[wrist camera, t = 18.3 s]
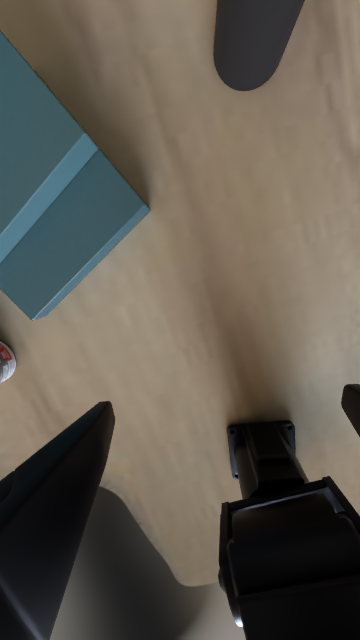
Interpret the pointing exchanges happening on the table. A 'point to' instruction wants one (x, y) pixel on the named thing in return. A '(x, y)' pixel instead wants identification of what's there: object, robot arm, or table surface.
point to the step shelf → (52, 193)
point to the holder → (252, 39)
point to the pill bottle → (6, 362)
